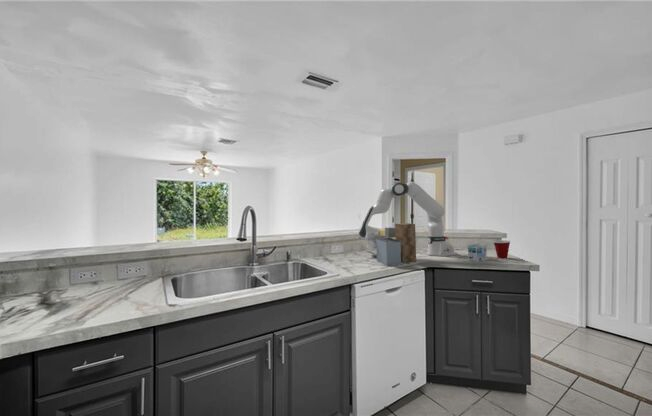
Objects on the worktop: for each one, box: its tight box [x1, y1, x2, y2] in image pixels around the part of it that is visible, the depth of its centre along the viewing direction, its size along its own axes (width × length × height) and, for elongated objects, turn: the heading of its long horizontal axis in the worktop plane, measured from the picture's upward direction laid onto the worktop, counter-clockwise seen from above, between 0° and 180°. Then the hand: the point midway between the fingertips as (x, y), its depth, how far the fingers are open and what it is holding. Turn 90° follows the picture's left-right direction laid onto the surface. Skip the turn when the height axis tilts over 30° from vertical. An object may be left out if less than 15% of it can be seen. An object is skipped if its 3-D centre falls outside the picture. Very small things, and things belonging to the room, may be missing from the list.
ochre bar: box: [379, 226, 396, 238], centre depth 197 cm, size 5×20×6 cm, turn 11°
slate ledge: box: [375, 237, 402, 266], centre depth 195 cm, size 10×18×16 cm, turn 11°
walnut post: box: [394, 222, 417, 264], centre depth 198 cm, size 10×10×26 cm
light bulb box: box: [467, 243, 488, 263], centre depth 194 cm, size 11×7×11 cm, turn 117°
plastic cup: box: [492, 239, 511, 259], centre depth 200 cm, size 11×11×12 cm
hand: (382, 231), depth 204 cm, fingers closed on ochre bar, 3 cm apart
